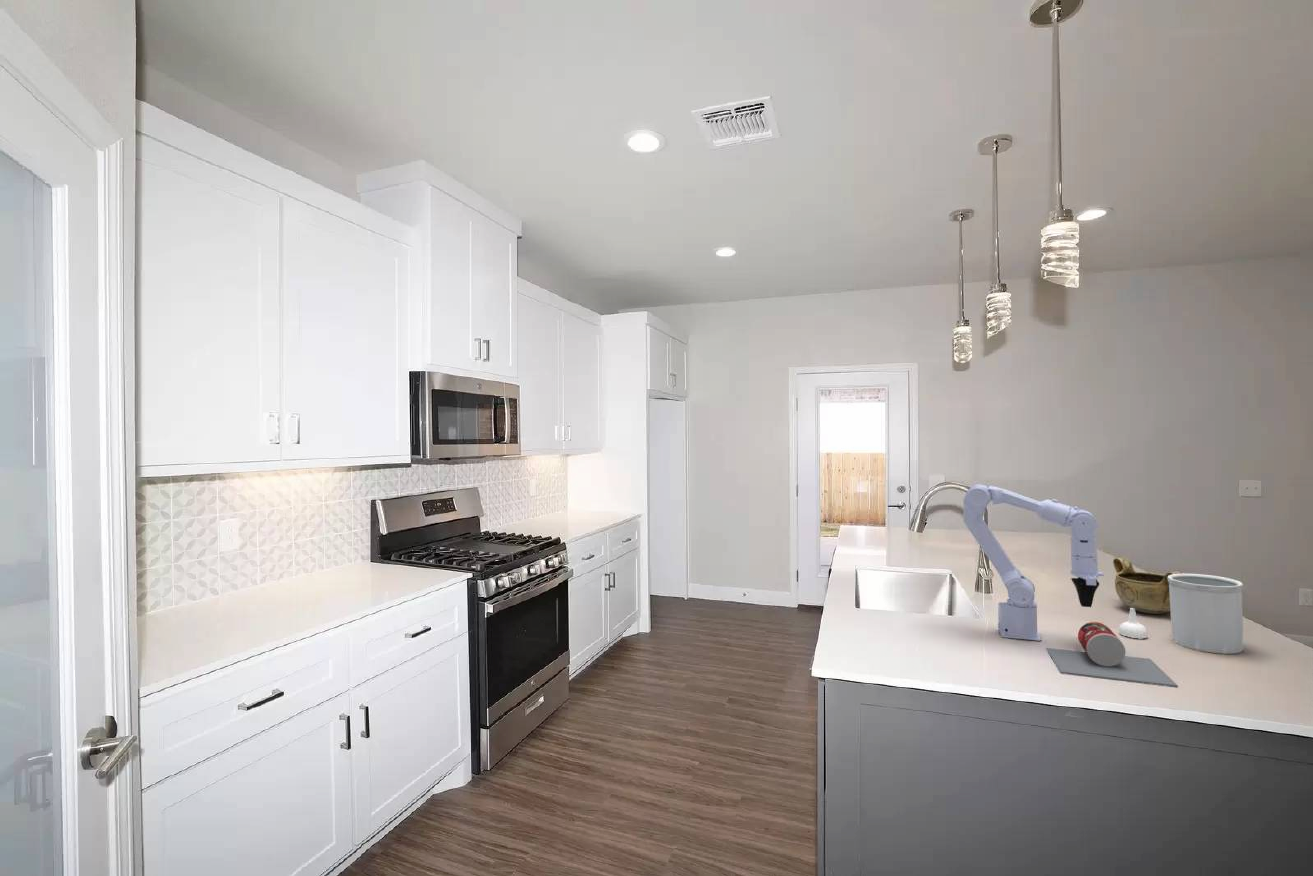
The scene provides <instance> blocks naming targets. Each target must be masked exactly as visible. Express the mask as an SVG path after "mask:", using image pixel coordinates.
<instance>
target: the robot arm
mask: <svg viewBox="0 0 1313 876" xmlns="http://www.w3.org/2000/svg"><path fill="white" fill-rule="evenodd" d="M963 497H964V498H963V501H962V502H963V510H962V511H963V512H962V513H963V514H962V515H963V518H962V520H963V522H964V525H965V526H966V528H967V529H968V531H969V532H970V533H971V535H972V537H973V538H974V539H975V541H976V542H977V544H978V546H979V547H980V548H981V550H982V551H983V553H984V554H985V556H986V557H987V558H988V560H989V561H990V563H991V564H992V566H993V567H994V569H995V570H996V572H997V573H998V574H999V576H1000V578H1001V581H1002V583H1003V585H1004V586H1005V588H1006V590H1007V596H1008V598H1007V599H1006V601H1005V602H998V607H997V608H998V609H997V611H998V612H997V614H998V620H997V621H998V622H997V627H998V631H999V634H1000V636H1001V637H1002V638H1007V639H1008V638H1009V639H1018V640H1027V641H1028V640H1029V641H1030V640H1031V641H1037V642H1041V641H1042V638H1041V636H1040V635H1039V633H1038V603H1037V602H1036V601H1035V598H1036V597H1035V596H1036V595H1035V592H1036V587H1035V584H1034V583H1033V582H1032V581H1031V580H1030V579H1029V578H1027V577H1026V576H1024V575H1023V573H1022V572H1021V571H1020V570H1019V568H1017V566H1016V565H1015V563H1014V562H1013V561H1012V559H1011V558H1010V557H1009V555H1008V554H1007V552H1006V550H1005V549H1004V547H1003V546H1002V544H1001V543H1000V542H999V540H998V539H997V537H996V536H995V534H994V533H993V532H992V530H991V528H990V527H989V526H988V524H987V522H986V521H985V520H984V516H985V512H986V510H987V509H986V508H987V507H988V505H989V504H990V503H991V502H992V505H1000V504H1007V505H1009V506H1014V507H1017V508H1021V509H1024V510H1027V511H1031V512H1034V513H1036V514H1037V516H1038V518H1039V519H1040V520H1043V521H1047V522H1050V523H1052V524H1055V525H1058V526H1061V527H1064V528H1067V527H1069V528H1071V530H1070V531H1071V537H1070V554H1071V555H1070V559H1071V560H1070V561H1071V563H1070V564H1071V570H1070V575H1072V576H1075V577H1072V578H1070V580H1071V581H1072V583H1073V585H1074V587H1075V589H1076V593H1077V597H1078V600H1079V604H1080V606H1081V607H1083V608H1084V607H1085V608H1092V605H1093V603H1094V597H1095V593H1096V591H1097V590H1098V589H1099V588H1098V587H1099V586H1100V582H1099V581H1098V577H1104V573H1103V571H1102V572H1101V571H1099V569H1098V542H1097V538H1096V536H1097V532H1096V530H1097V528H1098V523H1097V520H1096V518H1095V516H1094V515H1093V514H1092V513H1091V512H1090V511H1088V510H1085V509H1081V508H1080V509H1079V507H1078V506H1076V505H1075V506H1069V505H1068V504H1064V503H1060V502H1059V501H1058V499H1055V498H1053V499H1044V500H1042V501H1039V500H1037V499H1033V498H1031V497H1027V496H1024V495H1021V494H1020V493H1016V492H1014V491H1011V490H1009V489H1005V488H1002V487H998V486H993V485H987V484H984V483H976V484H973V485H972V486H971V487H970V488H969V489H968V490H967V491H966V493H965V495H964V496H963Z"/></svg>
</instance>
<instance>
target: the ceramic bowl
mask: <svg viewBox="0 0 1313 876" xmlns="http://www.w3.org/2000/svg"><path fill="white" fill-rule="evenodd" d="M1112 563H1113V567H1114V569H1115V571H1116V574H1115V581H1114V587H1115V588H1114V589H1115V592H1116V594H1117V596H1118V598H1119V599H1120V601H1121V602H1122V603H1123V604H1124V605H1126V607H1128V608H1129V609H1130V608H1133V609H1135V612H1139V613H1143V614H1148V615H1161V614H1166V613H1168V612H1171V611H1170V593H1169V582H1168V576H1169V575H1172V574H1184V573H1183V572H1182V571H1169V572H1167V573H1166V574H1163V573H1155V572H1147V571H1146V572H1145V571H1136V570H1134V567H1133V564H1132V562H1131V561H1130V559H1128V558H1126V557H1115V558H1114V559H1113V562H1112Z"/></svg>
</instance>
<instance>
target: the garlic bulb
mask: <svg viewBox="0 0 1313 876" xmlns="http://www.w3.org/2000/svg"><path fill="white" fill-rule="evenodd" d="M1136 612H1137V611H1136V610H1135V609H1133V608H1130V607H1129V614H1128V619H1127V621H1124V622H1122V623H1121V624H1120V625H1119V628H1118V631H1119V632H1118V633H1119V634H1120V635H1121V636H1122V635H1123V636H1122V637H1125V636H1128V637H1131V638H1130V639H1132V638H1138V639H1137V640H1144V639H1143V638H1145V639H1147V638H1148V630H1147V628H1146V627H1145V626H1144V625H1143V624H1141V623H1140V622H1139V621H1138V617H1137V614H1136ZM1128 637H1127V638H1128Z"/></svg>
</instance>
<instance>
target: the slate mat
mask: <svg viewBox="0 0 1313 876" xmlns="http://www.w3.org/2000/svg"><path fill="white" fill-rule="evenodd" d="M1046 649H1047V650H1048V651H1047V650H1046ZM1046 649H1045V650H1046V651H1047V653H1048V655H1049V654H1050V655H1049V656H1050V658H1051V657H1052V658H1051V659H1053V660H1052V661H1053V663H1054V664H1056V665H1055V666H1056V668H1057V670H1058V669H1059V670H1058V671H1059V673H1060V674H1063V673H1066V674H1065V675H1073V676H1081V677H1090V678H1095V679H1096V678H1098V679H1099V678H1100V679H1105V678H1106V679H1107V680H1114V681H1120V682H1121V681H1122V682H1123V681H1124V682H1130V681H1131V683H1138V682H1144V683H1143V684H1147V683H1153V684H1152V685H1155V684H1159V685H1158V686H1163V685H1167V686H1166V687H1173V688H1178V687H1179V686H1178V684H1177V683H1176V682H1175V681H1174V680H1173V679H1172V678H1171V677H1170V676H1168V674H1167V673H1166V672H1165V671H1164V670H1163V669H1161V668H1160V667H1159V666H1158V665H1157V664H1156V662H1154V661H1153V660H1152V659H1151V658H1147V657H1146V658H1145V657H1138V656H1137V657H1136V656H1129V655H1125V657H1124V659H1123V661H1122V662H1121V663H1119V664H1118V665H1115V666H1111V667H1106V666H1101V665H1099V664H1097V663H1095V662H1094V661H1093V660H1092V659H1091V658H1090V657H1089V656H1088V654H1087V653H1086V651H1083V650H1082V651H1081V650H1070V649H1061V648H1053V647H1052V648H1051V647H1046Z"/></svg>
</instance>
